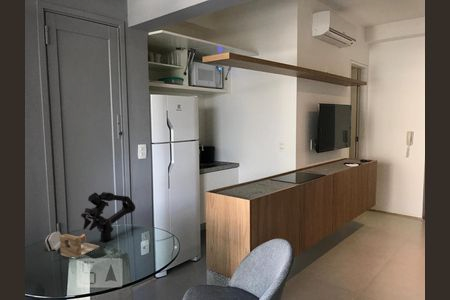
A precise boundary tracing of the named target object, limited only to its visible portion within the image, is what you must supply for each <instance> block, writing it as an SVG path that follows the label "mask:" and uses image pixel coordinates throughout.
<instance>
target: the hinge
mask: <svg viewBox="0 0 450 300" xmlns="http://www.w3.org/2000/svg"><path fill="white" fill-rule="evenodd" d="M61 235H62V234H61V232H60V231H54V232H51V233H50V234H48V235H47V236H46V238H45V241H44V243H45V246H46V249H47V251H48V252H50V251H53V250H55V251H58V250H59V249H61V247H60V236H61Z"/></svg>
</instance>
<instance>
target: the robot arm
mask: <svg viewBox="0 0 450 300" xmlns="http://www.w3.org/2000/svg"><path fill="white" fill-rule="evenodd" d="M87 200H88V201H89V203H91V204H92V205H94V207H91V208H88V207H85V208H84V209H85V210H84V212H82V213H81V215H80V217H81V218H83V220H84V221H83V222H84V223H83V227H82V228H83V230H86V229H87V228H88V227H89V229H88V231H90V232H91V231H92V230H93V229H95V228H96V229H97V230H98V232H100V240H101V241H100V242H103V241H104V242H103V243H107V242H110V241H112V240H114V237H112V232H113V231H114V227H113V226H112V225H113V224H114V223H116V222H117V221H119V220H120V219H121V218H123V217H124V216H125V215H127V214H130V213H133V212H135V210H136V205H135V203H134V202H133V200H131V198H130V197H129V195H128V196H127V195H117V194H114V193H113V192H109V191H107V192H106V191H102V193H101V194H98V193H97V192H95V191H94V192H93V193H91V194H90V195H89V196H88V198H87ZM111 201H119V202H121V203H122V207H121V209H120V210H119V211H117V212H116V213H114V214H113V215H111V216H110V217H108V218H105V217H104V216H103V214H104V209H105V208H106V207H110V206H109V202H111ZM91 220H92V221H91ZM89 225H90V226H89Z"/></svg>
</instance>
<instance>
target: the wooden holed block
mask: <svg viewBox="0 0 450 300" xmlns="http://www.w3.org/2000/svg"><path fill="white" fill-rule="evenodd" d="M77 237H80V240H81V242H83V243H85V242H86V241H87V235H86V234H85V233H81V234H79V235H78V236H77ZM67 245H68V246H70V241H69V240H68V241H67Z"/></svg>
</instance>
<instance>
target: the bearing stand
mask: <svg viewBox="0 0 450 300" xmlns="http://www.w3.org/2000/svg"><path fill="white" fill-rule="evenodd" d="M68 240H69V241H70V246H68V245H67V241H68ZM81 242H82V241H81V240H80V237H78V236H77V235H76V236H75V235H72V234H68V233H64V234H61V236H60V256H62V257H63V256H64V257H67V258H70V257H78V256H81V255H83V254H86V253H88V252H90V251H92V250H94V249H96V248H99V247H100V248H101V246H100V245H97V244H93V243H89V242H83V243H81ZM100 248H99V249H100Z"/></svg>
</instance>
